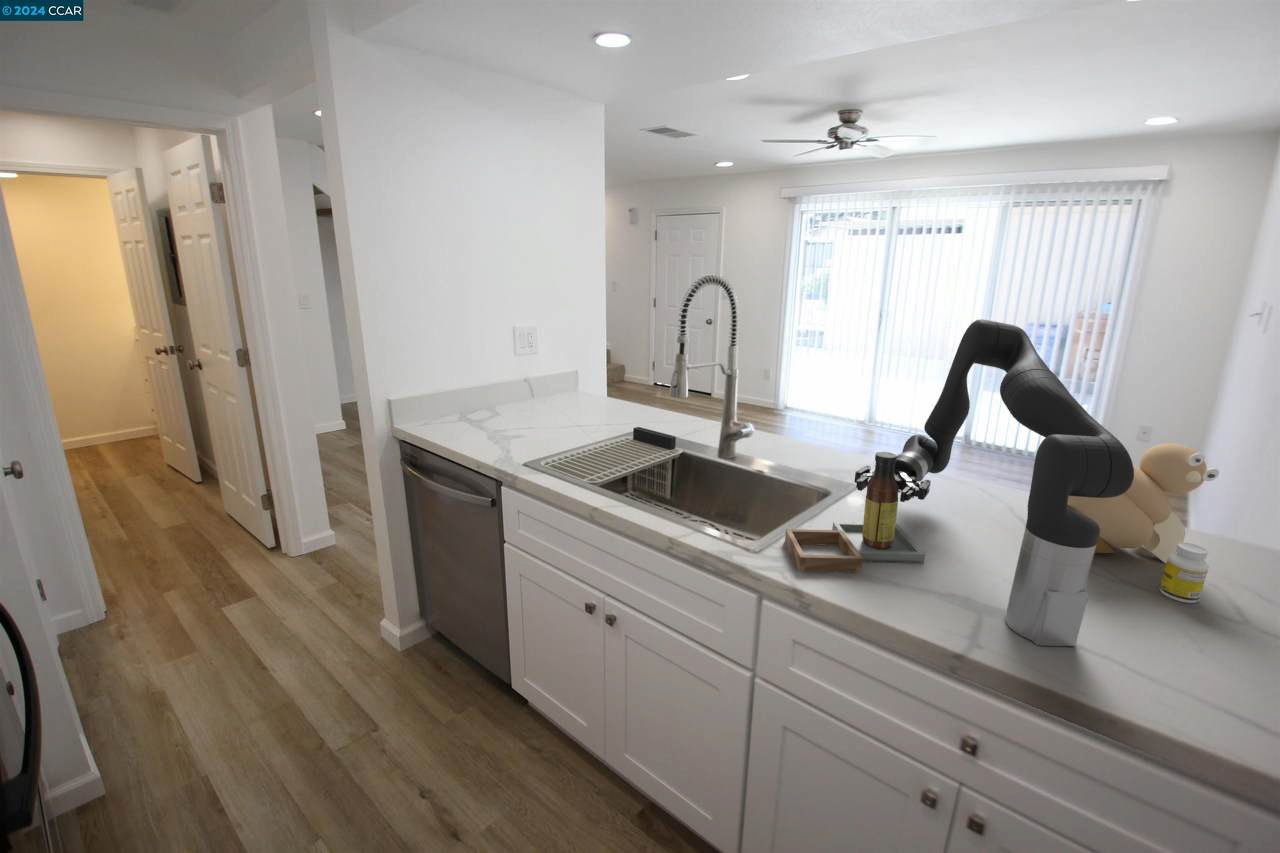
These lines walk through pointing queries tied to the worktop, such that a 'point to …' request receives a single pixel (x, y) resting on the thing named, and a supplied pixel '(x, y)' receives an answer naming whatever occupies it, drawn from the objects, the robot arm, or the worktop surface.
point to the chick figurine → (1147, 502)
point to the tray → (897, 553)
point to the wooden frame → (823, 562)
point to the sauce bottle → (881, 503)
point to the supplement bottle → (1185, 573)
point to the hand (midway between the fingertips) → (880, 491)
